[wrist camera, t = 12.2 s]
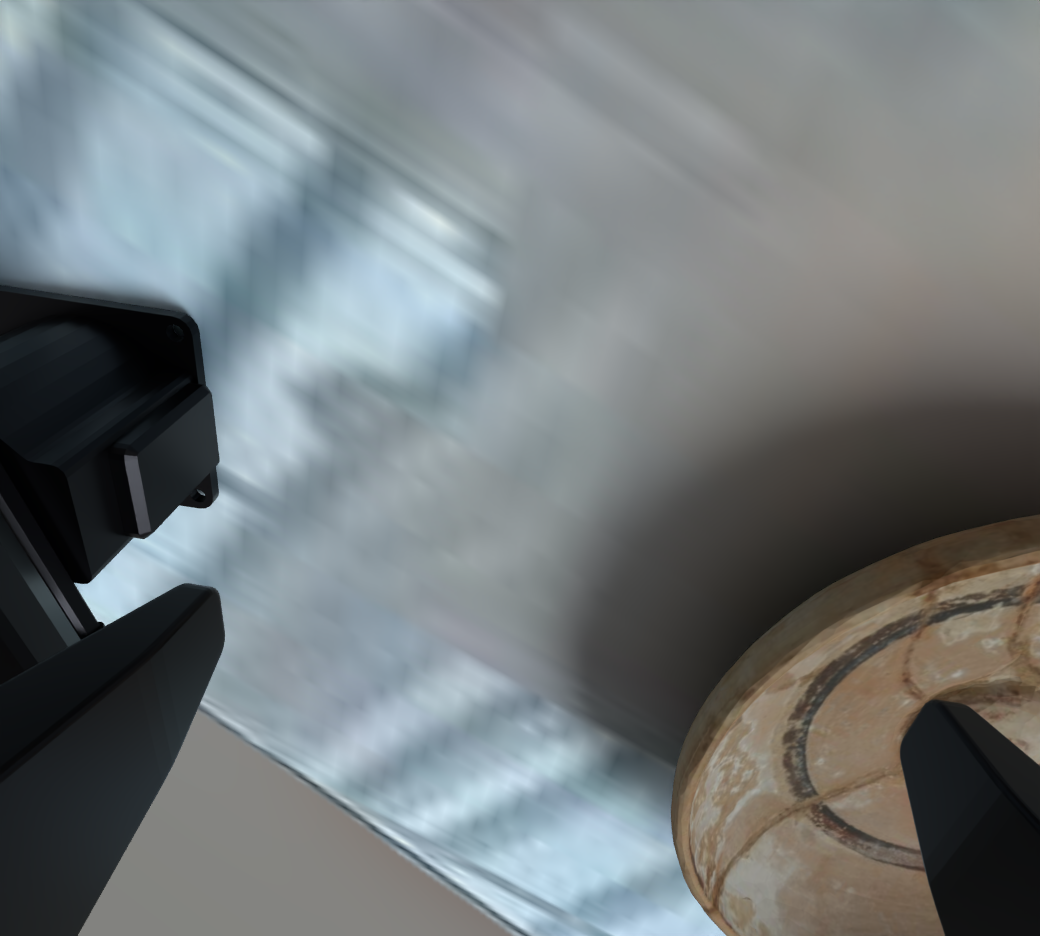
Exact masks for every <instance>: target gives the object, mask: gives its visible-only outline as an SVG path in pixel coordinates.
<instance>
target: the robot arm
mask: <svg viewBox="0 0 1040 936" xmlns="http://www.w3.org/2000/svg"><path fill="white" fill-rule="evenodd" d="M174 325H176V326H178V327H179V328H180V329H181V330H182V331H183V334H184V337H181V336H179V335H178V334H177V333H176V332H175V330H174V328H173V326H174ZM218 463H219V452H218V443H217V435H216V426H215V418H214V409H213V401H212V394H211V392H210V390H209V389H208V387H207V386H206V382H205V374H204V365H203V357H202V349H201V341H200V333H199V329H198V326H197V324H196V322H195V321H194V320H193V319H192V318H191V317H190V316H188V315H187V314H184V313H181V312H177V311H170V310H163V309H156V308H150V307H143V306H136V305H130V304H123V303H116V302H110V301H103V300H96V299H89V298H83V297H76V296H69V295H63V294H56V293H49V292H43V291H36V290H29V289H22V288H16V287H9V286H2V285H0V936H78V934H79V932H80V930H81V929H82V927H83V925H84V923H85V921H86V920H87V918H88V916H89V915H90V913H91V911H92V909H93V907H94V905H95V904H96V902H97V900H98V898H99V897H100V895H101V893H102V891H103V890H104V888H105V886H106V884H107V882H108V881H109V879H110V877H111V875H112V873H113V872H114V870H115V868H116V866H117V865H118V863H119V861H120V859H121V857H122V856H123V854H124V852H125V850H126V849H127V847H128V845H129V843H130V842H131V840H132V838H133V836H134V834H135V833H136V831H137V829H138V827H139V826H140V824H141V822H142V820H143V818H144V817H145V815H146V813H147V811H148V810H149V808H150V806H151V804H152V802H153V801H154V799H155V797H156V795H157V794H158V792H159V790H160V788H161V786H162V785H163V783H164V781H165V779H166V777H167V775H168V773H169V771H170V770H171V768H172V766H173V764H174V762H175V759H176V757H177V755H178V753H179V751H180V749H181V746H182V744H183V742H184V739H185V737H186V734H187V732H188V730H189V728H190V725H191V723H192V721H193V718H194V716H195V714H196V712H197V709H198V707H199V705H200V702H201V700H202V698H203V695H204V693H205V691H206V688H207V686H208V684H209V681H210V679H211V677H212V674H213V672H214V670H215V667H216V665H217V663H218V660H219V658H220V656H221V653H222V650H223V647H224V642H225V630H224V623H223V615H222V608H221V600H220V595H219V593H218V591H217V590H216V589H215V588H213V587H209V586H203V585H196V584H190V583H186V584H181V585H179V586H177V587H175V588H173V589H171V590H170V591H168V592H166V593H164V594H162V595H161V596H159V597H157V598H155V599H153V600H152V601H150V602H148V603H146V604H144V605H143V606H141V607H139V608H137V609H135V610H134V611H132V612H130V613H128V614H126V615H125V616H123V617H121V618H119V619H117V620H116V621H114V622H112V623H110V624H108V625H107V626H105V625H104V623H102V622H97V620H96V619H95V617H94V615H93V614H92V612H91V610H90V609H89V607H88V605H87V604H86V602H85V600H84V599H83V597H82V595H81V594H80V592H79V591H78V589H77V587H76V586H75V584H74V583H80V584H88V583H89V582H91V581H92V580H93V579H94V578H95V577H96V576H97V575H98V574H99V573H100V571H101V570H102V569H103V568H104V567H105V566H106V565H107V564H108V563H109V562H110V561H111V560H112V559H113V558H114V557H115V556H116V555H117V554H118V553H119V552H120V551H121V550H122V549H123V548H124V547H125V546H126V545H127V544H128V543H129V542H130V541H131V540H132V539H133V538H140V539H145V538H147V537H148V536H149V535H151V534H152V533H153V532H154V531H155V530H156V529H157V528H158V527H159V526H160V525H161V524H162V523H163V522H164V521H165V520H166V519H167V518H168V517H169V515H170V514H171V513H172V512H173V511H174V510H175V509H176V508H177V507H178V506H179V505H181V506H187V507H194V508H207V507H209V506H210V505H211V504H212V503H213V502H214V501H215V500H216V498H217V497H218V494H219V489H218V480H217V472H216V466H217V464H218ZM197 489H198V490H201V491H202V492H203V493H204V494H205V496H204V495H201V494H200V493H199V492H198V491H197ZM900 761H901V766H902V770H903V775H904V779H905V784H906V788H907V793H908V797H909V802H910V806H911V811H912V815H913V820H914V824H915V829H916V833H917V838H918V842H919V847H920V851H921V855H922V860H923V864H924V868H925V872H926V876H927V880H928V884H929V887H930V890H931V894H932V897H933V900H934V904H935V907H936V910H937V913H938V916H939V919H940V922H941V925H942V928H943V931H944V934H945V936H1040V765H1039V764H1037V763H1036V762H1035V761H1034V760H1033V759H1031V758H1030V757H1029V756H1028V755H1027V754H1025V753H1024V752H1023V751H1022V750H1021V749H1020V748H1018V747H1017V746H1016V745H1015V744H1014V743H1012V742H1011V741H1010V740H1009V739H1008V738H1006V737H1005V736H1004V735H1003V734H1002V733H1000V732H999V731H998V730H997V729H996V728H995V727H993V726H992V725H991V724H990V723H989V722H987V721H986V720H985V719H984V718H983V717H981V716H980V715H979V714H978V713H977V712H976V711H974V710H973V709H972V708H970V707H969V706H967V705H965V704H962V703H957V702H951V701H944V700H938V699H934V700H930V701H928V702H927V703H925V705H924V706H923V707H922V709H921V710H920V712H919V714H918V715H917V717H916V718H915V720H914V722H913V723H912V725H911V726H910V728H909V729H908V731H907V733H906V734H905V736H904V737H903V739H902V742H901V746H900Z"/></svg>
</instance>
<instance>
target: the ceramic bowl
mask: <svg viewBox="0 0 1040 936" xmlns="http://www.w3.org/2000/svg"><path fill="white" fill-rule="evenodd" d="M934 699H938V700H944V701H951V702H957V703H962V704H965V705H967V706H969V707H970V708H972V709H973V710H974V711H976V712H977V713H978V714H979V715H980V716H981V717H983V718H984V719H985V720H986V721H987V722H989V723H990V724H991V725H992V726H993V727H995V728H996V729H997V730H998V731H999V732H1000V733H1002V734H1003V735H1004V736H1005V737H1006V738H1008V739H1009V740H1010V741H1011V742H1012V743H1014V744H1015V745H1016V746H1017V747H1018V748H1020V749H1021V750H1022V751H1023V752H1024V753H1025V754H1027V755H1028V756H1029V757H1030V758H1031V759H1033V760H1034V761H1035V762H1036V763H1037V764H1039V765H1040V514H1039V515H1033V516H1027V517H1022V518H1016V519H1010V520H1006V521H1002V522H997V523H993V524H989V525H985V526H980V527H976V528H972V529H968V530H964V531H960V532H956V533H953V534H949V535H946V536H942V537H939V538H935V539H932V540H930V541H927V542H924V543H921V544H918V545H915V546H913V547H910V548H908V549H906V550H903V551H901V552H899V553H896V554H894V555H892V556H889V557H887V558H885V559H882V560H880V561H878V562H875V563H873V564H871V565H869V566H867V567H865V568H863V569H860V570H858V571H856V572H854V573H852V574H850V575H848V576H846V577H844V578H842V579H840V580H838V581H837V582H835V583H833V584H831V585H829V586H828V587H826V588H824V589H823V590H821V591H819V592H818V593H816V594H814V595H813V596H812V597H810V598H809V599H808V600H806V601H805V602H803V603H802V604H801V605H799V606H798V607H796V608H795V609H794V610H792V611H791V612H790V613H788V614H787V615H786V616H785V617H783V618H782V619H781V620H780V621H779V622H777V623H776V624H775V625H774V626H773V627H771V628H770V629H769V630H768V631H767V632H766V633H765V634H763V635H762V636H761V637H760V638H759V639H758V640H756V641H755V642H754V643H753V644H752V645H751V646H750V647H749V648H748V649H747V650H746V652H745V653H744V654H743V655H742V656H741V657H740V658H739V659H738V660H737V661H736V663H735V664H734V665H733V666H732V667H731V668H730V669H729V670H728V671H727V672H726V674H725V675H724V676H723V677H722V679H721V680H720V681H719V683H718V684H717V685H716V687H715V688H714V689H713V691H712V692H711V693H710V694H709V696H708V697H707V699H706V701H705V702H704V704H703V705H702V707H701V708H700V710H699V712H698V714H697V716H696V718H695V719H694V721H693V723H692V725H691V727H690V729H689V732H688V734H687V736H686V738H685V740H684V743H683V746H682V749H681V752H680V756H679V759H678V762H677V767H676V772H675V777H674V783H673V794H672V805H671V824H672V834H673V842H674V846H675V850H676V854H677V857H678V860H679V864H680V867H681V870H682V873H683V876H684V879H685V881H686V883H687V885H688V887H689V889H690V891H691V893H692V895H693V896H694V898H695V899H696V900H697V901H698V903H699V904H700V905H701V907H702V908H703V910H704V911H705V913H706V914H707V915H708V916H709V917H710V919H711V920H712V921H713V922H714V923H715V924H716V925H717V926H718V927H719V928H720V929H721V930H722V931H723V932H724V933H725V935H726V936H945V934H944V931H943V928H942V925H941V922H940V919H939V916H938V913H937V910H936V907H935V904H934V900H933V897H932V894H931V890H930V887H929V884H928V880H927V876H926V872H925V868H924V864H923V860H922V855H921V851H920V847H919V842H918V838H917V833H916V829H915V824H914V820H913V815H912V811H911V806H910V802H909V797H908V793H907V788H906V784H905V779H904V775H903V770H902V766H901V761H900V746H901V742H902V739H903V737H904V736H905V734H906V733H907V731H908V729H909V728H910V726H911V725H912V723H913V722H914V720H915V718H916V717H917V715H918V714H919V712H920V710H921V709H922V707H923V706H924V705H925V703H927V702H928V701H930V700H934Z"/></svg>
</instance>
